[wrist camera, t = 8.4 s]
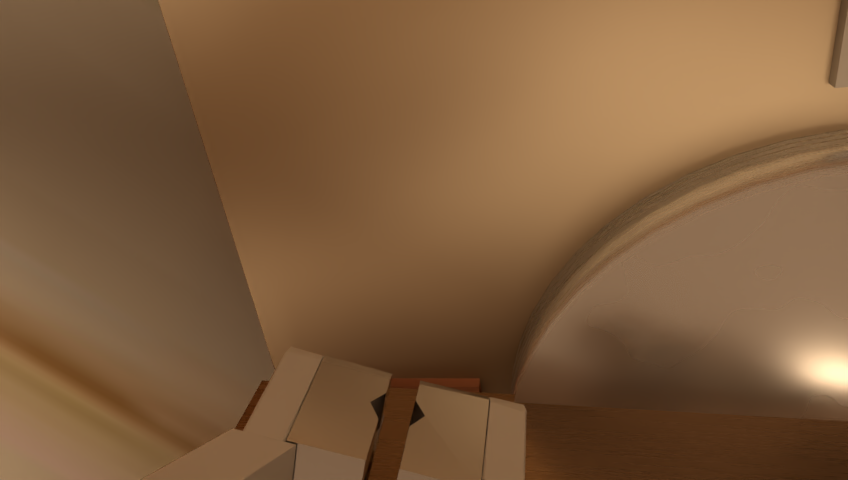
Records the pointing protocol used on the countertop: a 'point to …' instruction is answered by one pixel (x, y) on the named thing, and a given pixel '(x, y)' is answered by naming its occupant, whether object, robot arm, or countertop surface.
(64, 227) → the countertop surface
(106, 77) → the countertop surface
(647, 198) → the dial
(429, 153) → the dial plate
